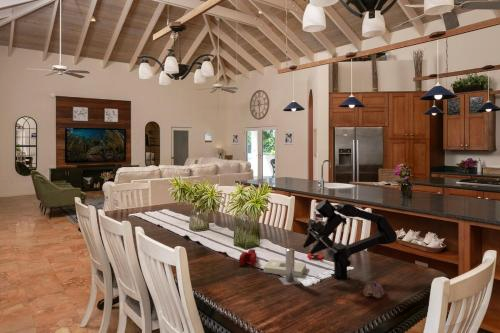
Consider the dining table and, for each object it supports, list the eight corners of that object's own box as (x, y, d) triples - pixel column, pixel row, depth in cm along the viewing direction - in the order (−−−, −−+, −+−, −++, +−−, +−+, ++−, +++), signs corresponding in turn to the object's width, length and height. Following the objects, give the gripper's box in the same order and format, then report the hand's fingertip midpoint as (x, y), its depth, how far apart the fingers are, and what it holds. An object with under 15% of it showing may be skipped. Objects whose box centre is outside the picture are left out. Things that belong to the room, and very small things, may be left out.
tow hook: (307, 255, 195) (307, 259, 186) (307, 231, 194) (307, 235, 185) (322, 255, 193) (323, 260, 184) (323, 232, 193) (323, 236, 184)
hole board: (305, 268, 173) (305, 263, 172) (301, 277, 161) (301, 271, 161) (270, 264, 178) (270, 259, 178) (263, 272, 167) (263, 267, 167)
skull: (373, 288, 149) (374, 274, 148) (391, 294, 143) (391, 279, 143) (359, 297, 140) (359, 282, 140) (377, 303, 135) (377, 288, 134)
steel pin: (295, 281, 155) (295, 250, 154) (287, 282, 154) (287, 251, 154) (292, 278, 159) (292, 248, 158) (284, 279, 158) (284, 248, 157)
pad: (301, 283, 154) (301, 283, 154) (284, 285, 152) (284, 284, 152) (295, 276, 162) (295, 276, 162) (278, 278, 160) (278, 278, 160)
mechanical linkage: (253, 267, 174) (253, 257, 174) (239, 266, 176) (239, 256, 175) (259, 257, 190) (259, 248, 189) (246, 256, 191) (246, 247, 191)
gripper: (311, 208, 166) (288, 233, 165) (327, 217, 148) (301, 244, 147) (326, 224, 168) (304, 248, 167) (344, 234, 150) (319, 261, 149)
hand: (307, 250), depth 157 cm, fingers open, 9 cm apart
